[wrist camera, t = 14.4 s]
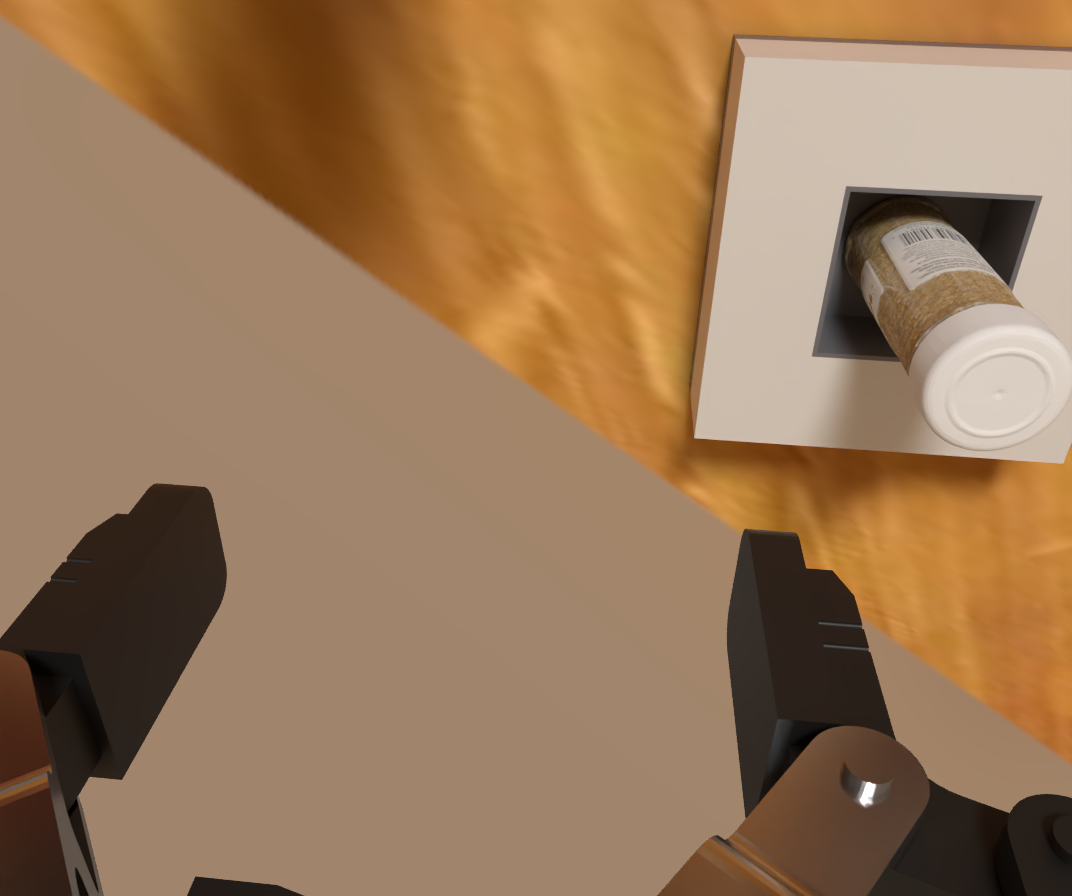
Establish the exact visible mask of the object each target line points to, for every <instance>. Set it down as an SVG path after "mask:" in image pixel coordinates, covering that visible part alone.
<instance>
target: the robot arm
mask: <svg viewBox="0 0 1072 896" xmlns="http://www.w3.org/2000/svg"><path fill="white" fill-rule="evenodd" d="M226 578H227V570H226V562H225V557H224V552H223V548H222V543H221V538H220V533H219V528H218V523H217V518H216V513H215V508H214V503H213V499H212V496H211V493H210V492H209V490H208V489H207V488H205V487H197V486H183V485H172V484H153V485H152V486H151V487H150V488H149V489H148V490H147V491H146V493H145V494H144V495H143V496H142V498H141V499H140V500H139V501H138V503H137V504H136V505H135V507H134V508H133V509H132V510H131V512H130V513H129V514H115V515H114V516H112V517H111V518H109V519H108V520H106V521H105V522H103V523H102V524H100V525H99V526H97V527H96V528H94V529H93V530H91V531H90V532H88V533H86V535H85V536H84V537H83V538H82V540H81V541H80V542H79V543H78V544H77V546H76V547H75V548H74V549H73V550H72V552H71V553H70V554H69V555H68V557H67V562H63V563H62V564H61V565H60V566H59V568H58V569H57V570H56V571H55V573H54V574H53V575H52V576H51V581H50V582H46V583H45V585H44V586H43V587H42V588H41V589H40V591H39V592H38V593H37V594H36V595H35V597H34V598H33V599H32V601H31V602H30V603H29V604H28V605H27V606H26V608H25V609H24V610H23V611H22V612H21V614H20V615H19V616H18V617H17V619H16V620H15V621H14V622H13V624H12V625H11V626H10V627H9V629H8V630H7V631H6V632H5V633H4V634H3V636H2V637H1V638H0V896H104V895H103V891H102V887H101V882H100V878H99V874H98V870H97V866H96V862H95V857H94V853H93V849H92V845H91V841H90V837H89V833H88V829H87V824H86V821H85V817H84V812H83V808H82V805H81V802H80V800H79V797H78V795H79V793H80V792H81V790H82V788H83V787H84V785H85V783H86V782H87V780H88V778H89V777H98V778H109V779H119V780H122V779H123V777H124V775H125V774H126V772H127V770H128V768H129V766H130V764H131V763H132V761H133V759H134V758H135V756H136V754H137V752H138V751H139V749H140V747H141V745H142V743H143V742H144V740H145V738H146V736H147V735H148V733H149V731H150V729H151V727H152V726H153V724H154V722H155V720H156V719H157V717H158V715H159V713H160V712H161V710H162V708H163V706H164V704H165V703H166V700H167V699H168V697H169V696H170V694H171V692H172V690H173V688H174V687H175V685H176V683H177V681H178V680H179V678H180V675H181V674H182V672H183V671H184V669H185V667H186V665H187V663H188V661H189V660H190V658H191V657H192V655H193V653H194V651H195V649H196V648H197V646H198V644H199V642H200V641H201V639H202V637H203V635H204V633H205V632H206V630H207V628H208V626H209V624H210V623H211V621H212V619H213V617H214V616H215V614H216V612H217V610H218V609H219V607H220V605H221V602H222V599H223V596H224V592H225V587H226ZM868 648H869V646H868V642H867V639H866V635H865V632H864V629H862V621H861V618H860V614H859V611H858V607H857V604H856V600H855V597H854V595H853V594H852V593H851V592H850V590H849V589H848V588H847V587H846V586H845V585H844V583H843V582H842V581H841V580H840V579H839V578H838V576H837V575H836V574H835V573H834V572H833V571H832V570H819V569H806V566H805V562H804V558H803V553H802V549H801V545H800V540H799V537H798V535H797V533H793V532H779V531H766V530H752V529H745V530H744V532H743V535H742V538H741V544H740V549H739V555H738V561H737V566H736V572H735V578H734V583H733V589H732V594H731V600H730V605H729V612H728V623H727V651H728V660H729V669H730V678H731V688H732V697H733V706H734V716H735V725H736V734H737V743H738V753H739V762H740V771H741V780H742V790H743V798H744V807H745V817H746V819H745V820H744V822H743V823H742V824H741V825H740V826H739V828H738V829H737V830H736V831H735V832H734V833H733V835H731V836H730V837H729V838H728V839H726V840H724V839H723V838H721V837H720V836H718V835H716V836H713V837H711V838H709V839H708V840H707V841H705V842H704V843H703V844H702V845H701V846H700V847H699V848H698V849H697V850H696V852H695V853H694V854H693V855H692V856H691V857H690V859H689V860H688V861H687V862H686V863H685V864H684V865H683V867H682V868H681V869H680V870H679V871H678V872H677V873H676V874H675V876H674V877H673V878H672V879H671V880H670V881H669V883H668V884H667V885H666V886H665V887H664V888H663V889H662V891H661V892H660V893H659V894H658V895H657V896H1072V798H1069V797H1065V796H1060V795H1053V794H1040V795H1034V796H1030V797H1027V798H1025V799H1023V800H1021V801H1019V802H1018V803H1017V804H1016V805H1015V806H1014V807H1013V809H1012V810H1011V812H1010V813H1007V812H1005V811H1002V810H999V809H996V808H993V807H991V806H988V805H985V804H982V803H979V802H977V801H974V800H971V799H968V798H965V797H963V796H960V795H958V794H955V793H953V792H951V791H948V790H947V789H945V788H943V787H941V786H939V785H937V784H936V783H934V782H933V781H931V780H930V779H928V777H927V775H926V773H925V771H924V768H923V767H922V765H921V764H920V762H919V761H918V759H917V758H916V757H915V756H914V755H913V754H912V753H911V752H910V751H909V750H908V749H907V748H906V747H905V746H903V745H902V744H900V743H899V742H898V741H896V738H895V736H894V732H893V729H892V725H891V722H890V718H889V715H888V711H887V708H886V705H885V701H884V698H883V694H882V691H881V687H880V684H879V680H878V677H877V674H876V670H875V667H874V663H873V659H872V656H871V653H870V652H869V651H868ZM187 896H303V895H301V894H298V893H296V892H293V891H291V890H288V889H286V888H283V887H281V886H278V885H271V884H261V883H251V882H242V881H233V880H223V879H214V878H204V877H195V879H194V881H193V884H192V886H191V888H190V890H189V893H188V895H187Z"/></svg>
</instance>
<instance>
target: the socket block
mask: <svg viewBox="0 0 1072 896" xmlns="http://www.w3.org/2000/svg"><path fill="white" fill-rule="evenodd" d="M907 196H908V197H916V198H921V199H923V200H928V201H930V202H932V203H934V204H935V205H937V206H938V207H939V208H940V209H941V210H943V211H944V213H945V214H946V216H947V217H948V218H949V220H950V223H951V226H952V227H953V228H954V229H955V230H956V231H958V232H959V233H960V234H961V235H962V236H963V237H964V238H965V239H966V240H967V241H968V242H969V243H970V244H971V245H972V246H973V247H974V248H975V250H976V251H977V252H978V253H979V254H980V255H981V256H982V257H983V258H984V260H985V261H986V262H987V263H988V264H989V265H990V266H991V267H992V269H993V270H994V271H995V272H996V273H997V274H998V275H999V277H1000V278H1001V279H1002V280H1003V281H1004V282H1005V283H1006V284H1007V286H1008V287H1009V288H1010V290H1011V291H1012V293H1013V295H1014V297H1015V298H1016V299H1017V300H1018V301H1019V302H1020V303H1021V305H1022V306H1023V307H1024V308H1025V309H1026V310H1028V311H1030V312H1032V313H1034V314H1036V315H1037V316H1038V317H1039V318H1041V319H1042V320H1043V321H1044V322H1045V323H1046V324H1047V325H1048V326H1049V327H1050V329H1051V330H1052V331H1053V332H1054V333H1055V334H1056V336H1057V337H1058V338H1059V339H1060V341H1061V342H1062V343H1063V344H1064V346H1065V347H1066V349H1067V350H1068V352H1069V355H1070V357H1071V359H1072V48H1069V47H1043V46H1017V45H992V44H966V43H940V42H914V41H888V40H862V39H836V38H810V37H785V36H759V35H733V43H732V51H731V59H730V66H729V74H728V82H727V90H726V98H725V106H724V114H723V122H722V130H721V138H720V146H719V154H718V162H717V170H716V178H715V186H714V194H713V202H712V210H711V218H710V225H709V233H708V241H707V249H706V257H705V265H704V273H703V281H702V289H701V297H700V305H699V313H698V321H697V329H696V337H695V345H694V353H693V361H692V369H691V377H690V384H689V386H690V397H691V408H692V419H693V430H694V438H698V439H712V440H727V441H741V442H756V443H771V444H785V445H800V446H814V447H829V448H844V449H858V450H873V451H887V452H902V453H917V454H931V455H946V456H960V457H975V458H989V459H1004V460H1019V461H1033V462H1048V463H1062V464H1063V463H1064V460H1065V457H1066V455H1067V452H1068V450H1069V447H1070V445H1071V442H1072V393H1071V395H1070V398H1069V400H1068V402H1067V404H1066V406H1065V408H1064V409H1063V411H1062V412H1061V414H1060V415H1059V416H1058V417H1057V419H1056V420H1055V421H1054V422H1053V423H1052V424H1051V425H1050V426H1049V427H1047V428H1046V429H1045V430H1044V431H1042V432H1041V433H1039V434H1038V435H1036V436H1035V437H1033V438H1032V439H1030V440H1027V441H1025V442H1023V443H1021V444H1019V445H1016V446H1013V447H1010V448H1006V449H1001V450H995V451H972V450H967V449H962V448H959V447H956V446H953V445H951V444H949V443H947V442H945V441H944V440H942V439H941V438H940V437H938V436H937V435H936V434H935V433H934V432H933V431H932V430H931V428H930V427H929V426H928V424H927V423H926V421H925V420H924V418H923V416H922V415H921V413H920V411H919V409H918V407H917V405H916V403H915V401H914V399H913V397H912V395H911V392H910V387H909V377H908V375H907V373H906V371H905V369H904V367H903V365H902V363H901V362H900V360H899V358H898V356H897V355H896V354H895V352H894V351H893V350H892V348H891V346H890V345H889V343H888V341H887V339H886V338H885V336H884V334H883V332H882V330H881V329H880V327H879V325H878V323H877V321H876V319H875V318H874V316H873V314H872V312H871V311H870V309H869V307H868V305H867V303H866V302H865V299H864V297H863V294H862V291H861V289H860V288H859V287H858V286H857V285H856V284H855V283H854V281H853V280H852V279H851V277H850V275H849V273H848V270H847V268H846V265H845V259H844V256H845V247H846V240H847V237H848V235H849V232H850V230H851V228H852V226H853V225H854V223H855V222H856V221H857V220H858V219H859V218H860V217H861V216H862V215H863V214H865V213H866V212H867V211H868V210H869V209H871V208H872V207H874V206H875V205H877V204H879V203H881V202H883V201H885V200H888V199H892V198H898V197H907Z"/></svg>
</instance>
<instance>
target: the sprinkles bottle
mask: <svg viewBox="0 0 1072 896" xmlns="http://www.w3.org/2000/svg"><path fill="white" fill-rule="evenodd" d="M844 259H845V265H846V268H847V270H848V273H849V275H850V277H851V279H852V280H853V281H854V283H855V284H856V285H857V286H858V287H859V288H860V289H861V291H862V294H863V297H864V299H865V302H866V303H867V305H868V307H869V309H870V311H871V312H872V314H873V316H874V318H875V319H876V321H877V323H878V325H879V327H880V329H881V330H882V332H883V334H884V336H885V338H886V339H887V341H888V343H889V345H890V346H891V348H892V350H893V351H894V352H895V354H896V355H897V356H898V358H899V360H900V362H901V363H902V365H903V367H904V369H905V371H906V373H907V375H908V377H909V387H910V392H911V395H912V397H913V399H914V401H915V403H916V405H917V407H918V409H919V411H920V413H921V415H922V416H923V418H924V420H925V421H926V423H927V424H928V426H929V427H930V428H931V430H932V431H933V432H934V433H935V434H936V435H937V436H938V437H940V438H941V439H942V440H944V441H945V442H947V443H949V444H951V445H953V446H956V447H959V448H962V449H967V450H972V451H995V450H1001V449H1006V448H1010V447H1013V446H1016V445H1019V444H1021V443H1023V442H1025V441H1027V440H1030V439H1032V438H1033V437H1035V436H1036V435H1038V434H1039V433H1041V432H1042V431H1044V430H1045V429H1046V428H1047V427H1049V426H1050V425H1051V424H1052V423H1053V422H1054V421H1055V420H1056V419H1057V417H1058V416H1059V415H1060V414H1061V412H1062V411H1063V409H1064V408H1065V406H1066V404H1067V402H1068V400H1069V398H1070V395H1071V393H1072V359H1071V357H1070V355H1069V352H1068V350H1067V349H1066V347H1065V346H1064V344H1063V343H1062V342H1061V341H1060V339H1059V338H1058V337H1057V336H1056V334H1055V333H1054V332H1053V331H1052V330H1051V329H1050V327H1049V326H1048V325H1047V324H1046V323H1045V322H1044V321H1043V320H1042V319H1041V318H1039V317H1038V316H1037V315H1036V314H1034V313H1032V312H1030V311H1028V310H1026V309H1025V308H1024V307H1023V306H1022V305H1021V303H1020V302H1019V301H1018V300H1017V299H1016V298H1015V297H1014V295H1013V293H1012V291H1011V290H1010V288H1009V287H1008V286H1007V284H1006V283H1005V282H1004V281H1003V280H1002V279H1001V278H1000V277H999V275H998V274H997V273H996V272H995V271H994V270H993V269H992V267H991V266H990V265H989V264H988V263H987V262H986V261H985V260H984V258H983V257H982V256H981V255H980V254H979V253H978V252H977V251H976V250H975V248H974V247H973V246H972V245H971V244H970V243H969V242H968V241H967V240H966V239H965V238H964V237H963V236H962V235H961V234H960V233H959V232H958V231H956V230H955V229H954V228H953V227H952V226H951V223H950V220H949V218H948V217H947V216H946V214H945V213H944V211H943V210H941V209H940V208H939V207H938V206H937V205H935V204H934V203H932V202H930V201H928V200H923V199H921V198H916V197H908V196H907V197H898V198H892V199H888V200H885V201H883V202H881V203H879V204H877V205H875V206H874V207H872V208H871V209H869V210H868V211H867V212H866V213H865V214H863V215H862V216H861V217H860V218H859V219H858V220H857V221H856V222H855V223H854V225H853V226H852V228H851V230H850V232H849V235H848V237H847V240H846V247H845V256H844Z"/></svg>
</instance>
